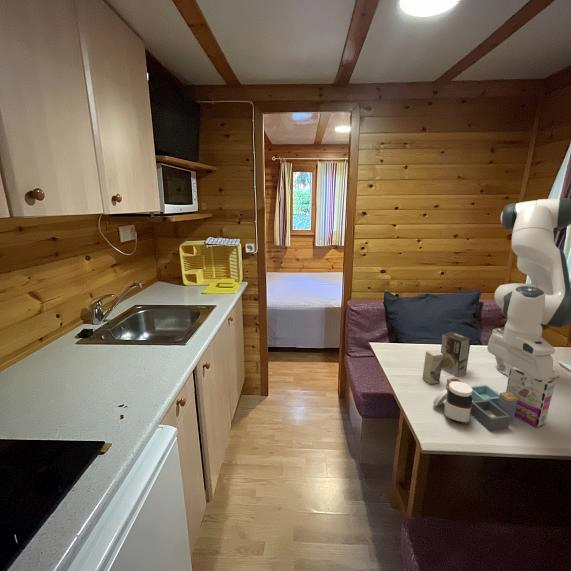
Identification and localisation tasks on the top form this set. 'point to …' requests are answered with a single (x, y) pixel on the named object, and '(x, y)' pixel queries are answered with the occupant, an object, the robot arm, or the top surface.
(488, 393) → the trough
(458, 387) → the spread jar
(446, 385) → the cup
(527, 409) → the candy bar box
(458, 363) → the coffee box
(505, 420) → the box
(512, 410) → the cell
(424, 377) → the box
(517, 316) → the robot arm
